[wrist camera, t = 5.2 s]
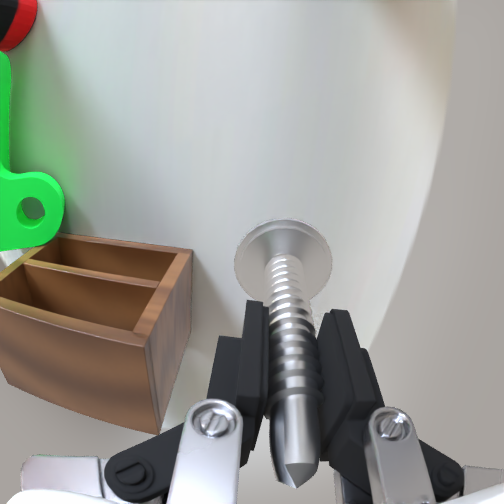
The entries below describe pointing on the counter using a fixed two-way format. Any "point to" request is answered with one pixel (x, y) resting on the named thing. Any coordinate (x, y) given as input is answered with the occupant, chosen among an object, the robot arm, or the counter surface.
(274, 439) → the screw
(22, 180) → the bracket
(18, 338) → the shelf
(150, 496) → the robot arm
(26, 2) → the soda can
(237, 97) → the counter surface
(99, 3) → the counter surface
